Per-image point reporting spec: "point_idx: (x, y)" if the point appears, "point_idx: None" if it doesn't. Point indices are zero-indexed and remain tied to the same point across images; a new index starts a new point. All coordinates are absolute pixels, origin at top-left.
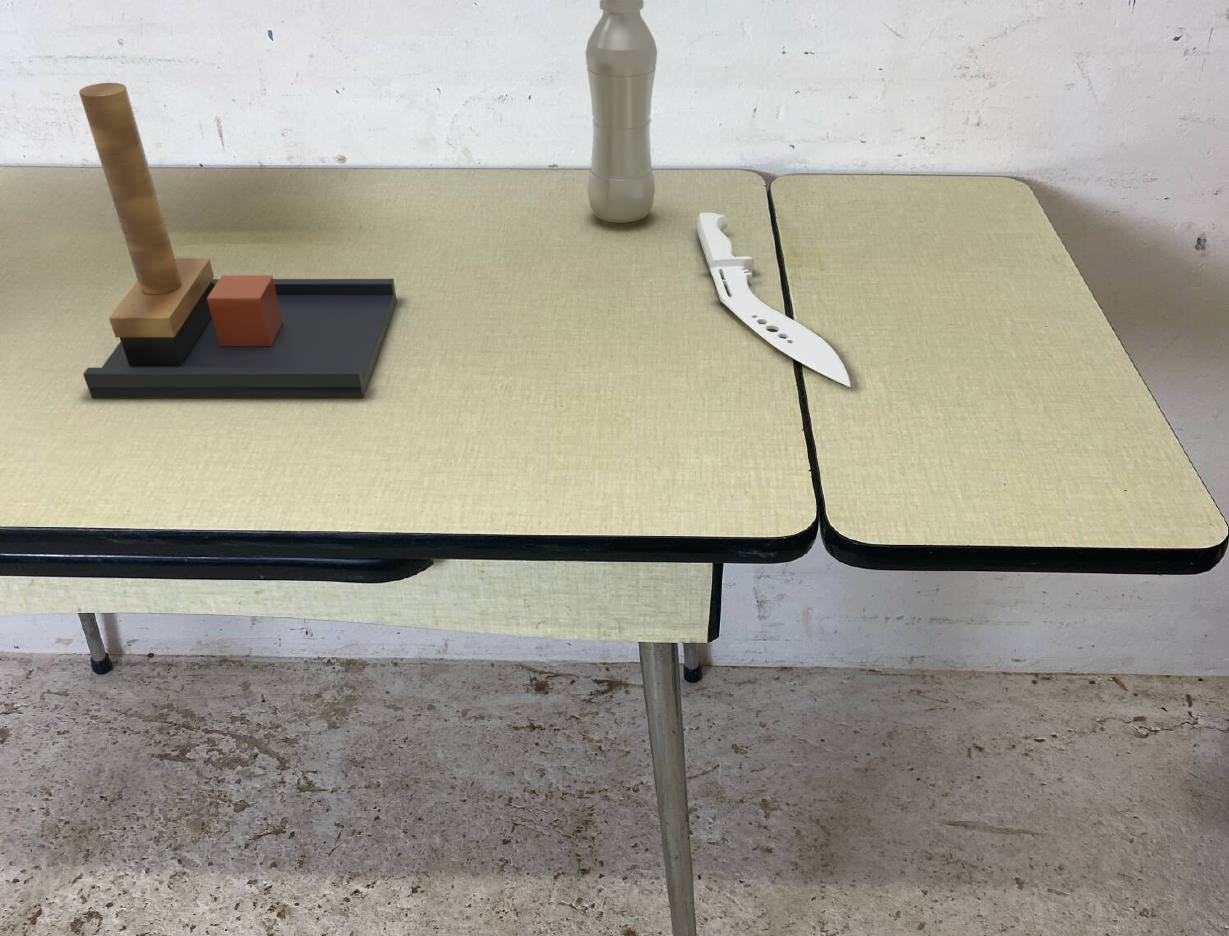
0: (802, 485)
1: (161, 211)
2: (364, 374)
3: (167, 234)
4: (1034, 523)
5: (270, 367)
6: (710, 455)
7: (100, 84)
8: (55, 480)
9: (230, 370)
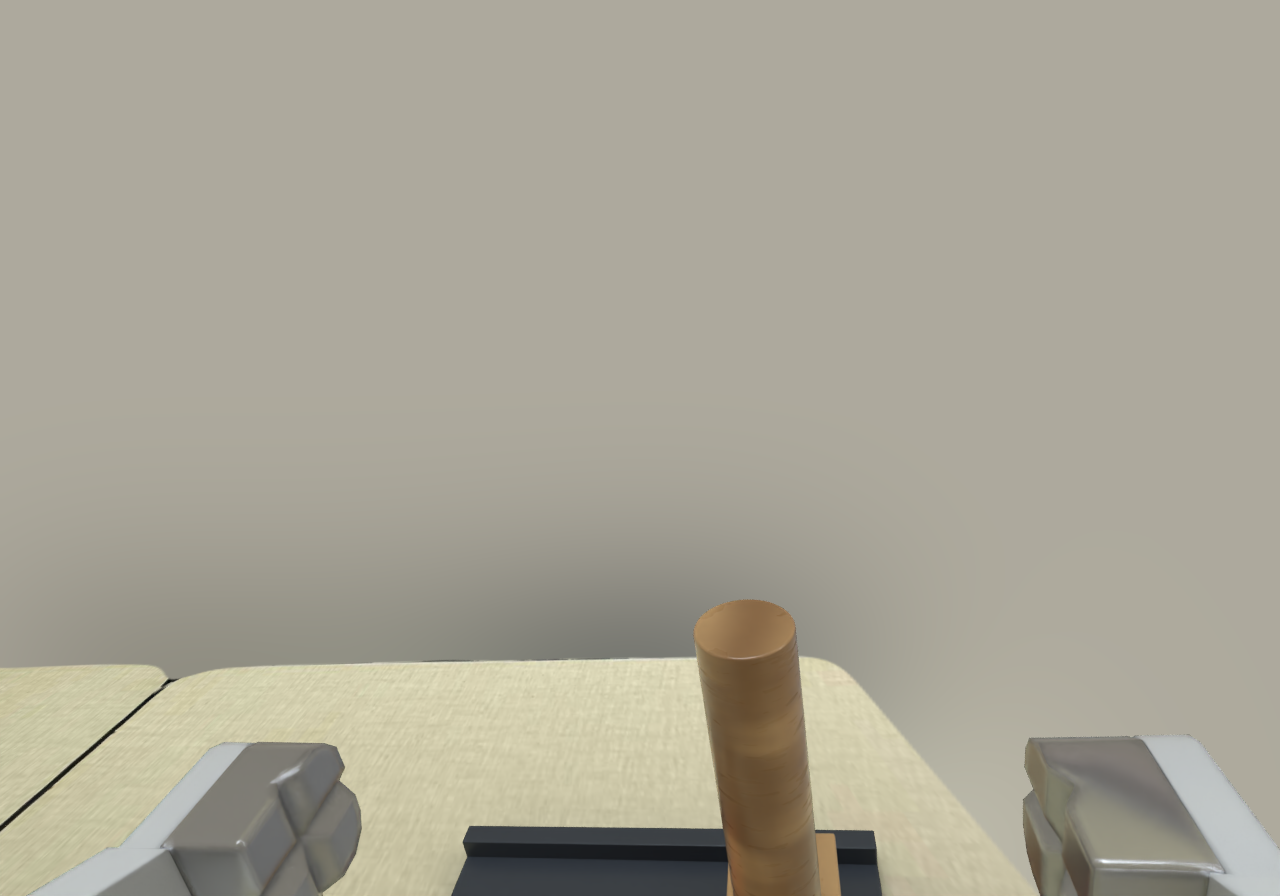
0: (140, 715)
1: (728, 854)
2: (462, 868)
3: (731, 882)
4: (34, 683)
5: (589, 843)
6: (172, 751)
7: (760, 647)
8: (826, 708)
9: (647, 836)
